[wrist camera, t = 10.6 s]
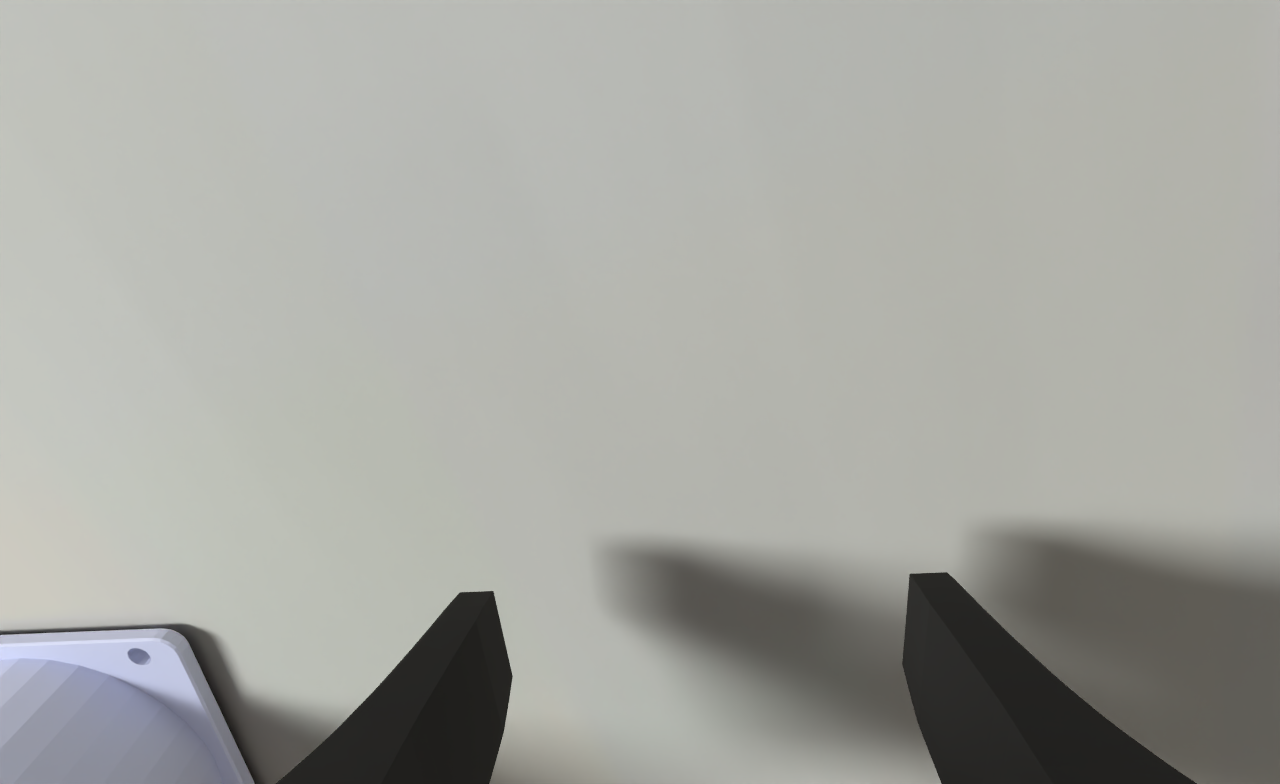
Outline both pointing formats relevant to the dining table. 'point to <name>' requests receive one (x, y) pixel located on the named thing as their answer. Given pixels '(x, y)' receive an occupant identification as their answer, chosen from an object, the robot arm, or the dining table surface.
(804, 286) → the dining table surface
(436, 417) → the dining table surface
